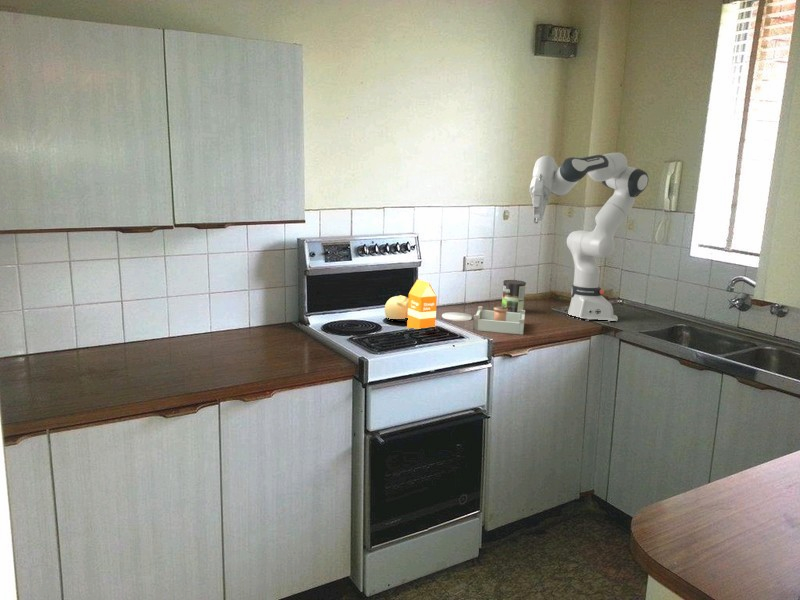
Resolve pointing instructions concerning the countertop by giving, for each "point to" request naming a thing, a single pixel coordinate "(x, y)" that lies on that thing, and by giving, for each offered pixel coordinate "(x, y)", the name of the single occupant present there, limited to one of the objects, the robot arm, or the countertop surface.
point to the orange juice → (421, 306)
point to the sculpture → (397, 307)
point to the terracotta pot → (500, 313)
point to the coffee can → (513, 295)
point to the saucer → (456, 316)
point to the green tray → (499, 322)
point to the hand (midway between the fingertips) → (535, 215)
